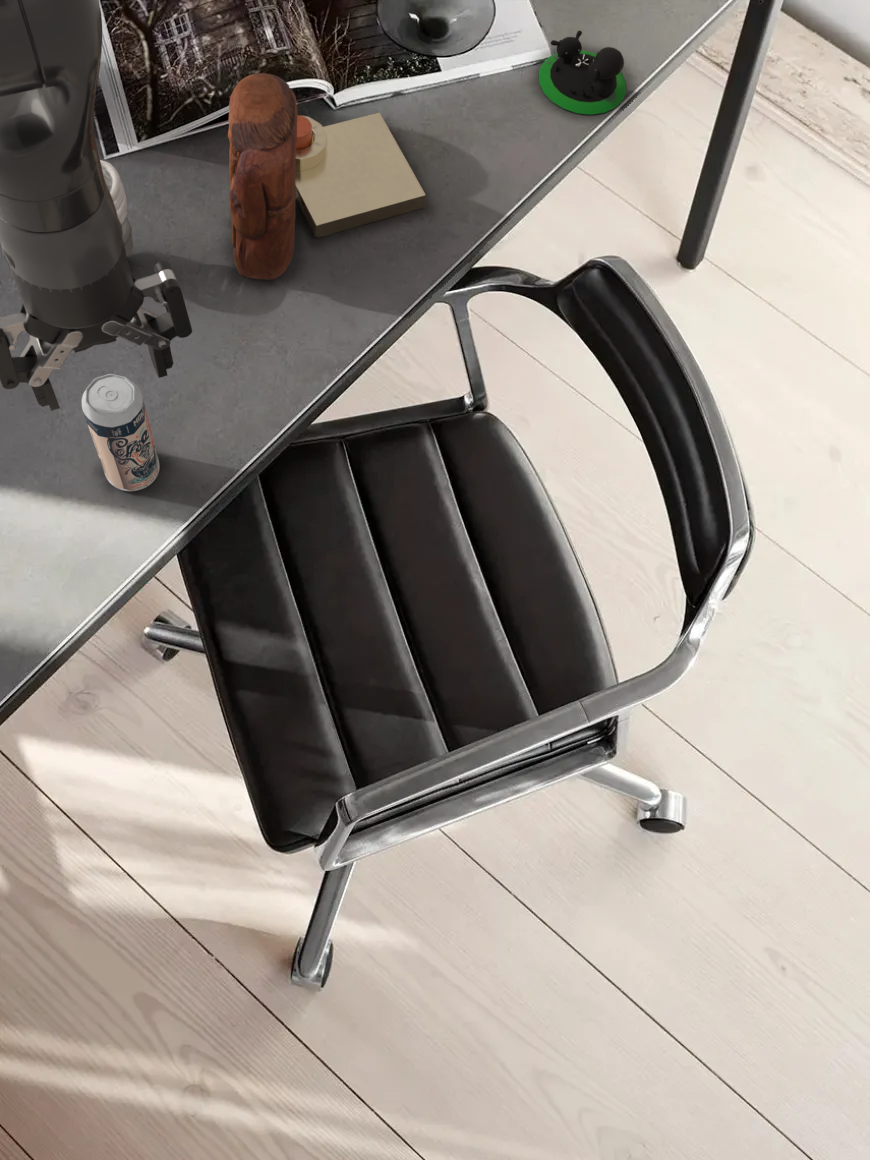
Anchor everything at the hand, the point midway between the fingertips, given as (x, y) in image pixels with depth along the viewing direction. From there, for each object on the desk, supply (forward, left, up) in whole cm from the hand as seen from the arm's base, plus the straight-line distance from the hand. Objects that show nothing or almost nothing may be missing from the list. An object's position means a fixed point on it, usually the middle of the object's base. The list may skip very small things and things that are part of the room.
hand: (106, 384), depth 88 cm
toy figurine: (-30, +61, -14) cm, 69 cm away
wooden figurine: (-21, +20, -14) cm, 32 cm away
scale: (-25, +31, -14) cm, 42 cm away
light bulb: (-23, +5, -14) cm, 27 cm away
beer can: (0, 0, -14) cm, 14 cm away
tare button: (-29, +27, -10) cm, 41 cm away
